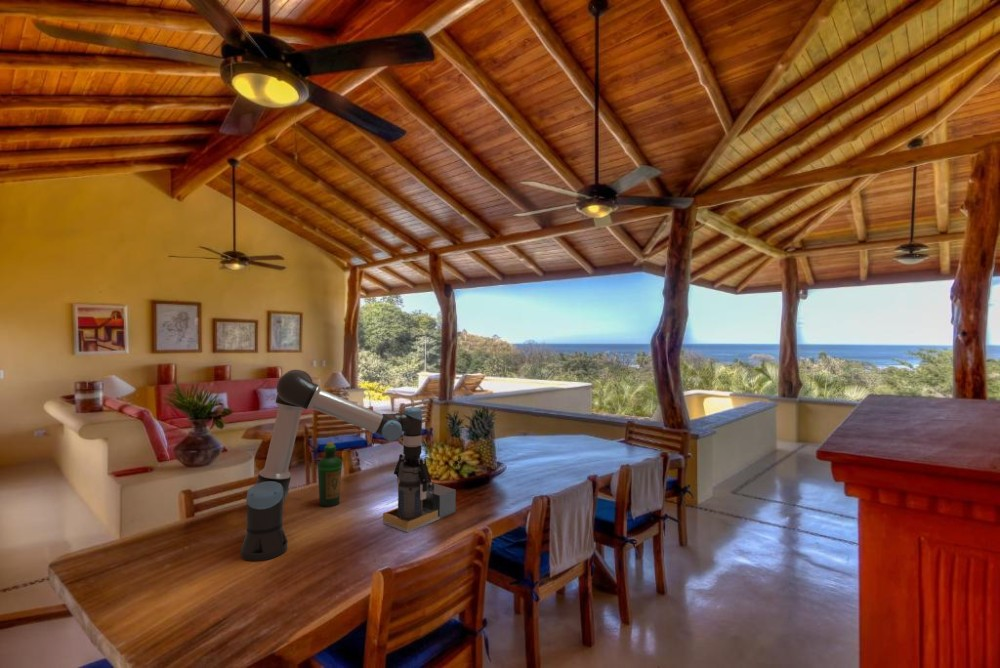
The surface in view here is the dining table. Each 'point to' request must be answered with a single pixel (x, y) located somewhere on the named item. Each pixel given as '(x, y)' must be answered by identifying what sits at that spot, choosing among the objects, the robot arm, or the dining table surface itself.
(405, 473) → the beverage bottle
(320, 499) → the bottle
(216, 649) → the dining table surface
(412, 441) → the robot arm
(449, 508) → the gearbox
